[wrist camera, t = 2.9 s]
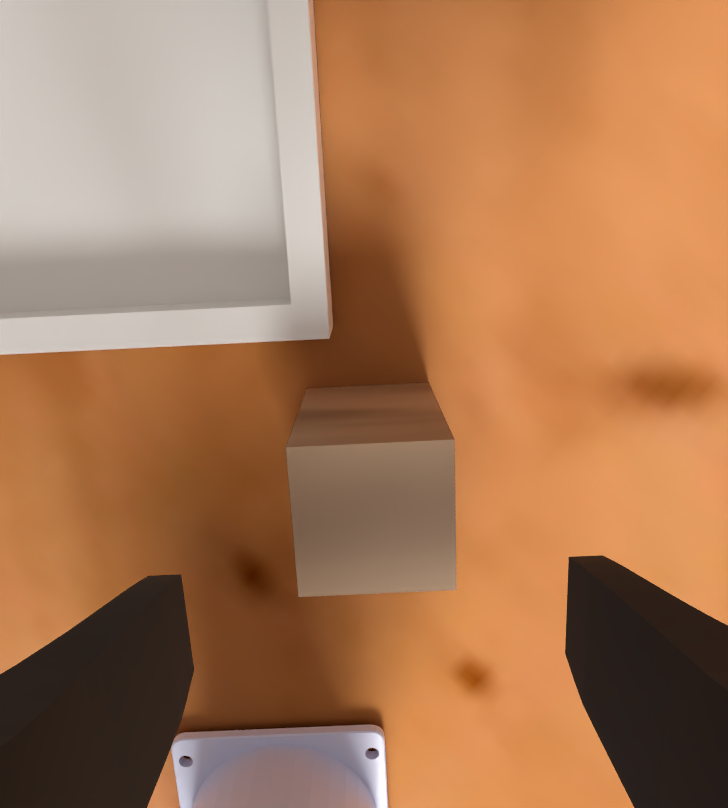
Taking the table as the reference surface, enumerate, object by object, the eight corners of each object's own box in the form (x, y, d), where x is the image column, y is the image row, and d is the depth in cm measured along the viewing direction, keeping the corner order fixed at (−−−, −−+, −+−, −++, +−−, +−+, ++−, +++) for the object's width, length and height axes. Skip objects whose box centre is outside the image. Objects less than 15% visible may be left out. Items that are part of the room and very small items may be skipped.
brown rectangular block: (431, 495, 22) (456, 589, 16) (314, 500, 22) (298, 597, 16) (428, 382, 21) (454, 439, 15) (306, 388, 21) (285, 447, 15)
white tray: (333, 326, 20) (329, 338, 18) (-102, 347, 20) (-164, 363, 18) (300, -206, 17) (290, -280, 14) (-227, -176, 17) (-326, -244, 14)
